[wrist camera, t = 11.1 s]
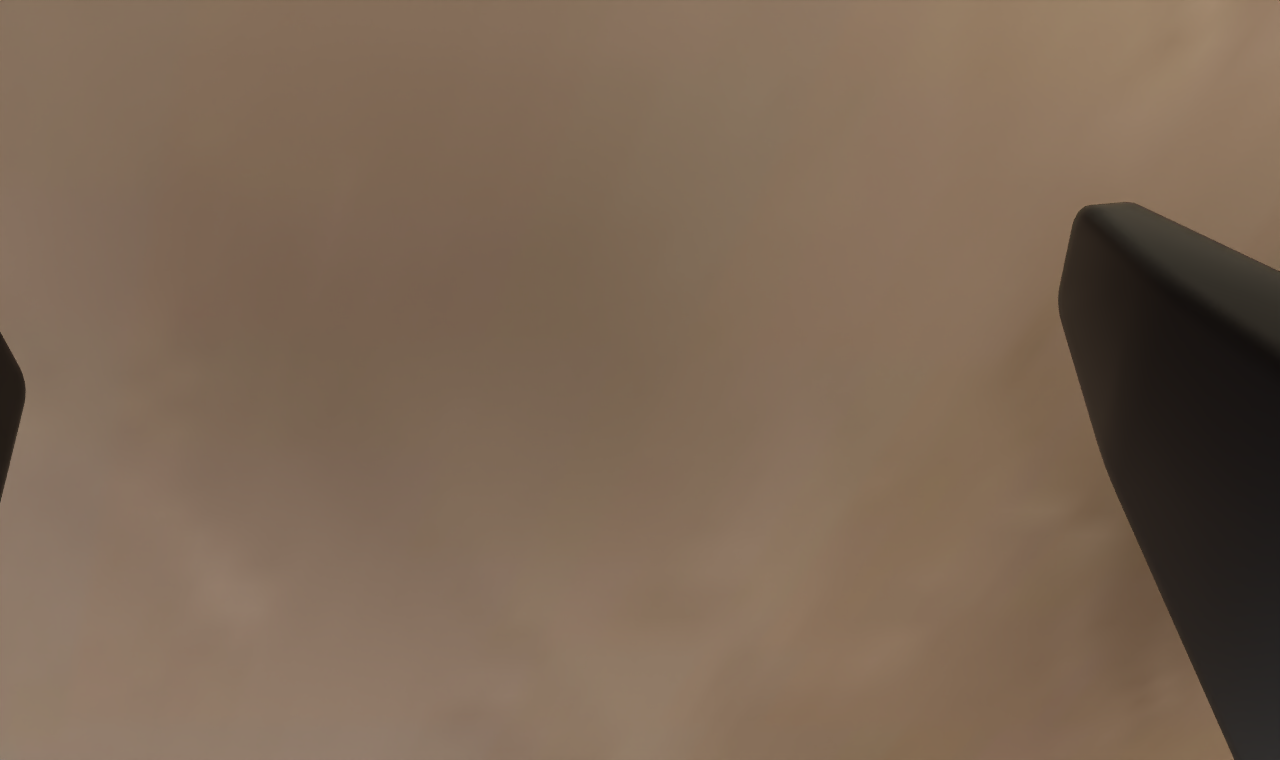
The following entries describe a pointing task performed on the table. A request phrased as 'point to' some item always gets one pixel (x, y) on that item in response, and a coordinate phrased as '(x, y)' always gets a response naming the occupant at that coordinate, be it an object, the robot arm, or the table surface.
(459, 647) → the table surface
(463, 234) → the table surface
